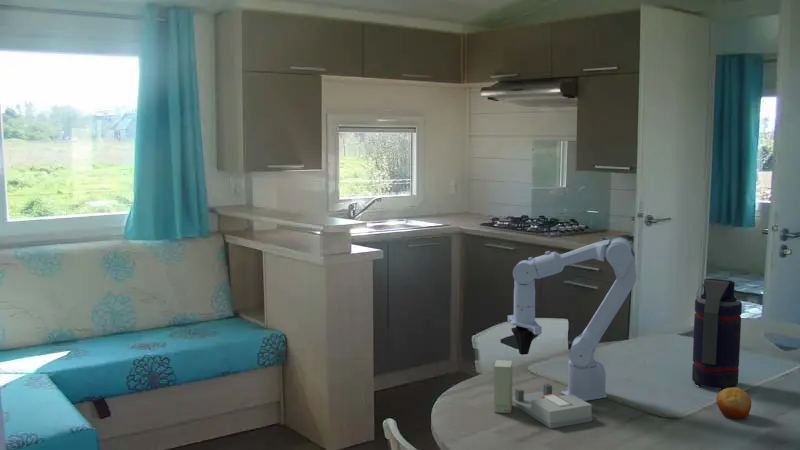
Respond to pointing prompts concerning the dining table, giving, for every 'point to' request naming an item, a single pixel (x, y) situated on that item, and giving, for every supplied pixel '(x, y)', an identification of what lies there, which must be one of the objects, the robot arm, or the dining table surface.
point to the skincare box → (503, 386)
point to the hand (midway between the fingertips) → (523, 353)
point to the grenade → (716, 335)
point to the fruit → (734, 402)
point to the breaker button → (556, 400)
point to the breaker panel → (553, 408)
